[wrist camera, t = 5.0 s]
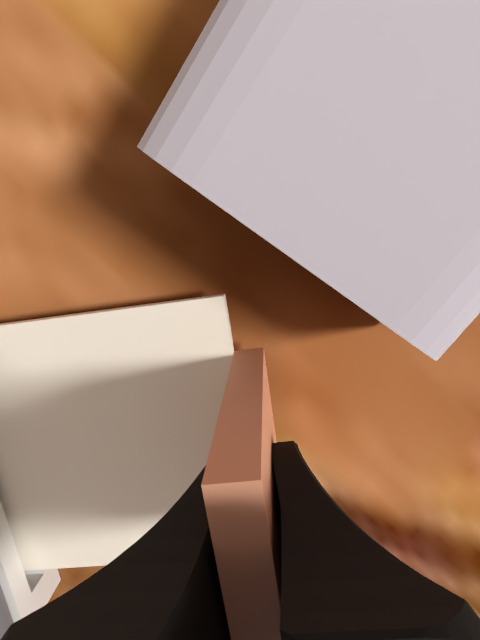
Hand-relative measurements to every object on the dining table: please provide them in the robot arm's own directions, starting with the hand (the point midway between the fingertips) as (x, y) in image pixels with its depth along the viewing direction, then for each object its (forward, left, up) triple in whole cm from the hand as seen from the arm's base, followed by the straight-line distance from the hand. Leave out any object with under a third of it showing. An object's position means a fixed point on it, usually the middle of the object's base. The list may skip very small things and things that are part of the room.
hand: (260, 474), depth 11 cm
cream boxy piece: (0, +5, -3) cm, 6 cm away
